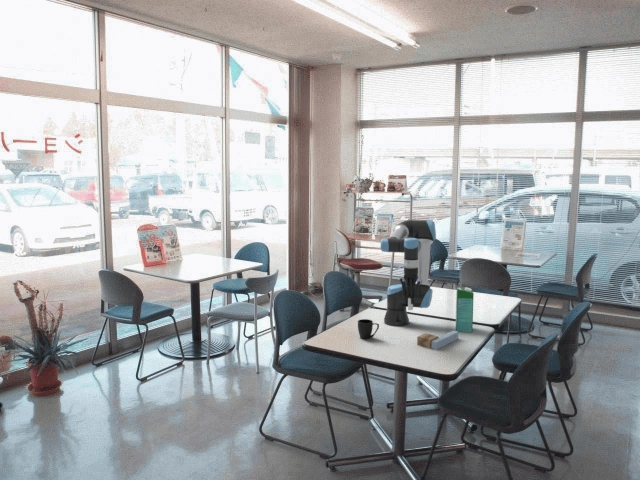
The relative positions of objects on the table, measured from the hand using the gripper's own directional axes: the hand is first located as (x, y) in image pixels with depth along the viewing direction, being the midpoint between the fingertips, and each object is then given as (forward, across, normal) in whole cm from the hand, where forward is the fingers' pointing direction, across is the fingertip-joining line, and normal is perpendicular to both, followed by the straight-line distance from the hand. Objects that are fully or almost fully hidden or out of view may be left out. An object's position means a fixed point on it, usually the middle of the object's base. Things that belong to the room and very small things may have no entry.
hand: (410, 309), depth 294 cm
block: (+18, +12, -1) cm, 21 cm away
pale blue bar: (+17, +17, +7) cm, 26 cm away
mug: (+18, -20, -12) cm, 29 cm away
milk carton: (+18, +13, +37) cm, 44 cm away
